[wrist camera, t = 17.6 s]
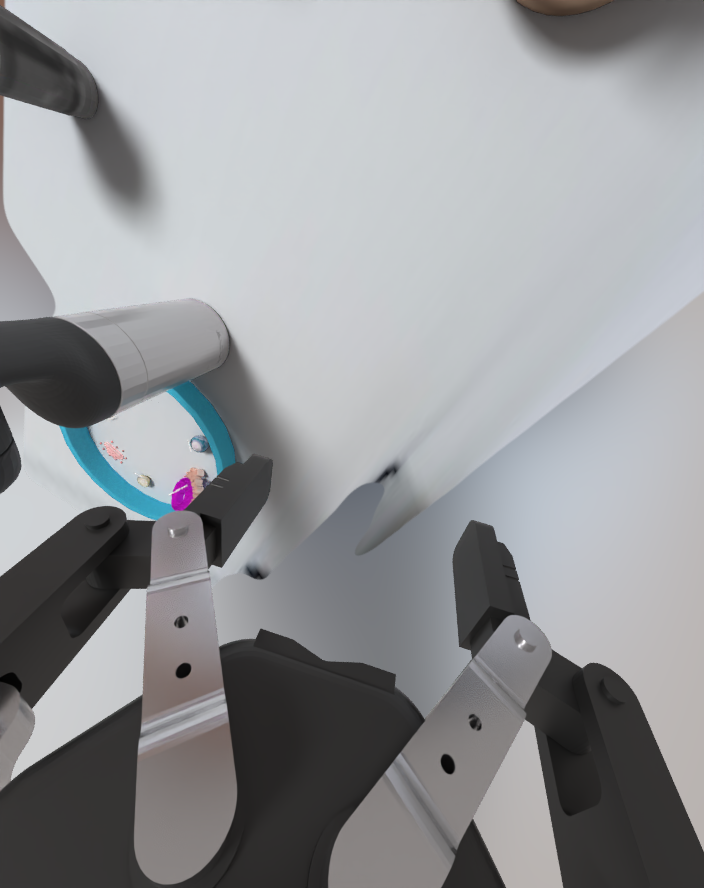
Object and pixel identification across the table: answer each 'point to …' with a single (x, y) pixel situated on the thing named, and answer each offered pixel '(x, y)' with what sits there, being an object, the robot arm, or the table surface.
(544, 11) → the tan rounded flat lump
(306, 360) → the table surface
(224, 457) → the blue ring
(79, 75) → the beverage cup
